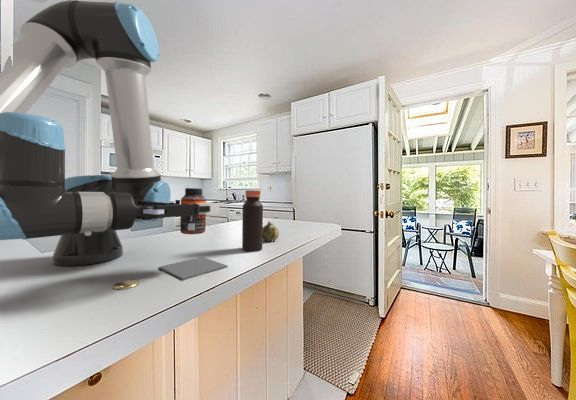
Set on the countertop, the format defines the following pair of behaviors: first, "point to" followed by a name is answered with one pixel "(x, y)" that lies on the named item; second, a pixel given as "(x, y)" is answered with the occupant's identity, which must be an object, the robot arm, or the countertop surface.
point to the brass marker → (126, 284)
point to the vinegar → (252, 222)
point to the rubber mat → (192, 267)
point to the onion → (270, 232)
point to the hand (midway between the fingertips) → (211, 207)
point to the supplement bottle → (189, 222)
